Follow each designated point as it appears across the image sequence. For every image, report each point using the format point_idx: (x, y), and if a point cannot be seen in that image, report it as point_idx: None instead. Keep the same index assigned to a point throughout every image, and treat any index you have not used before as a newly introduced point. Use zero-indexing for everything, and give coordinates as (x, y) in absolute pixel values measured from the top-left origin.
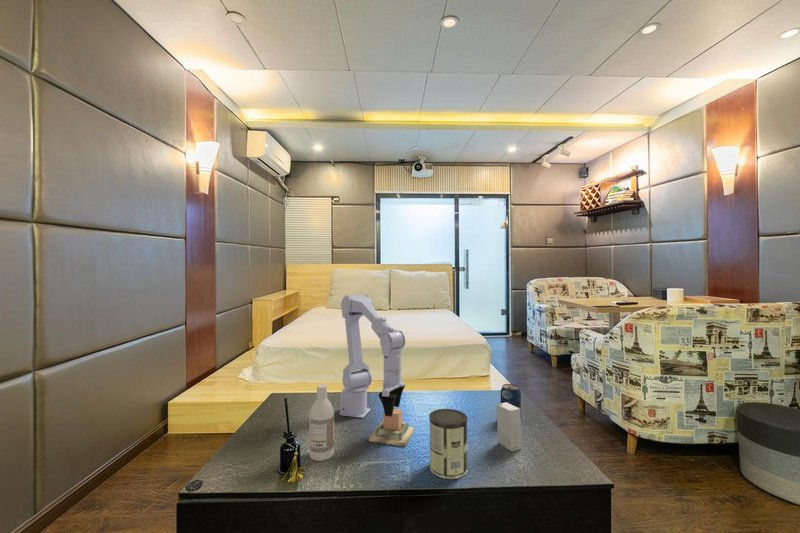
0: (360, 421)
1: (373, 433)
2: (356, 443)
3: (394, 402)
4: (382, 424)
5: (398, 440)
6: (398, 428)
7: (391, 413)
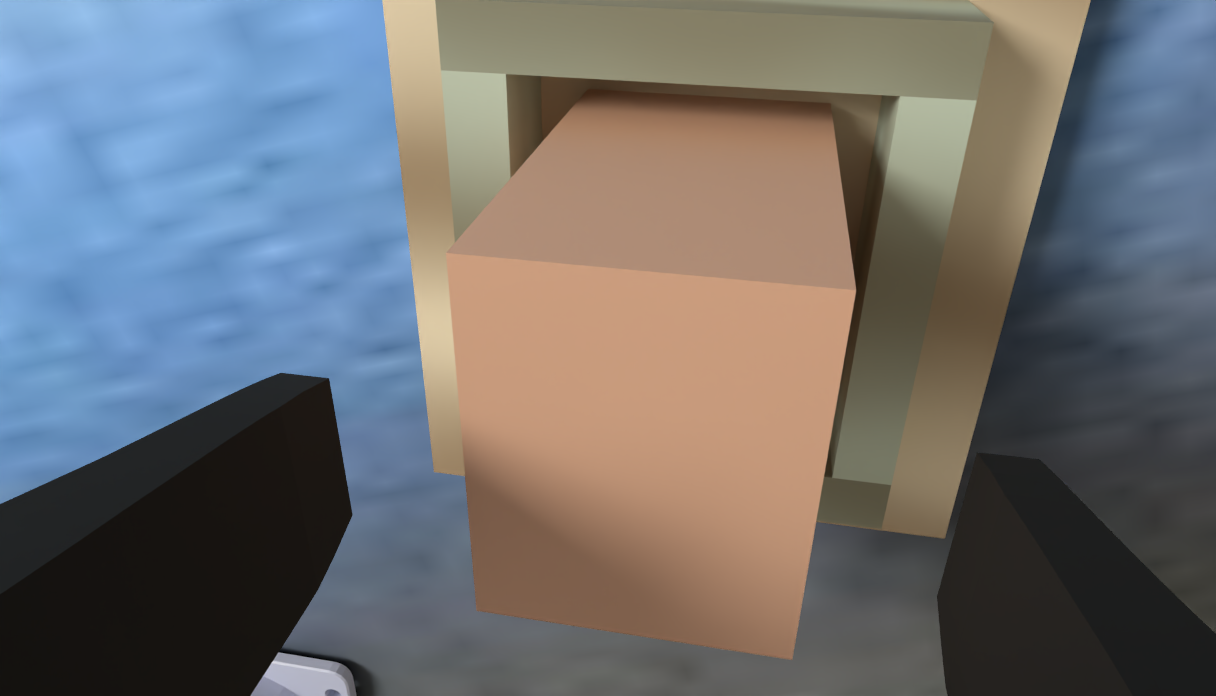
0: (430, 668)
1: None
2: None
3: (289, 553)
4: None
5: (993, 65)
6: (835, 149)
7: (1097, 523)
